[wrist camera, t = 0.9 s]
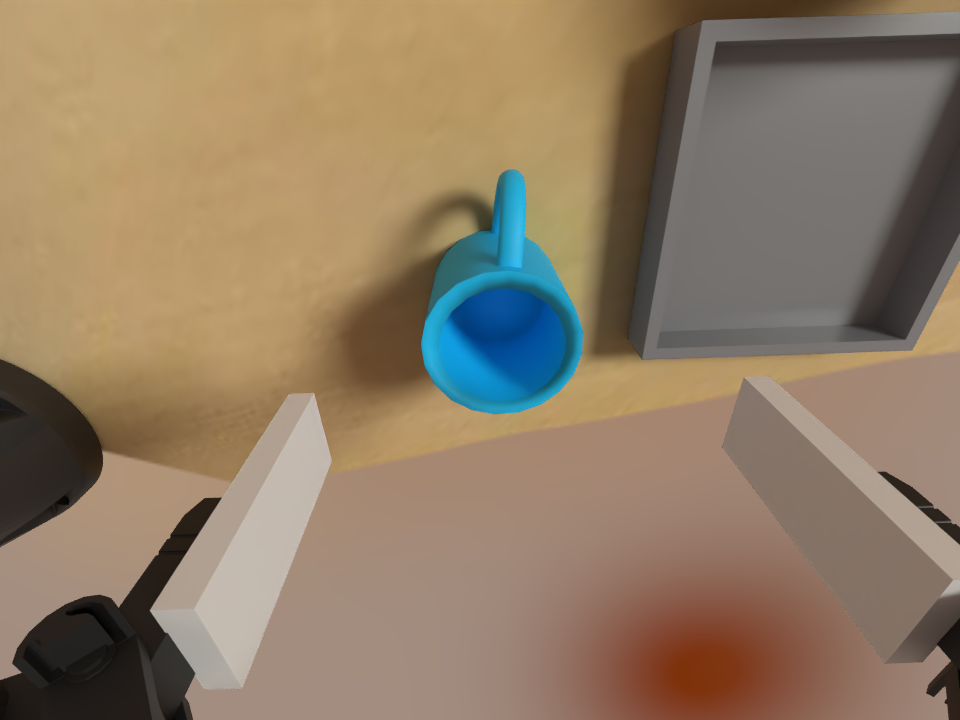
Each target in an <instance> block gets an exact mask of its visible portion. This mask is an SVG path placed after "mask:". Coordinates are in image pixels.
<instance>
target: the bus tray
mask: <svg viewBox="0 0 960 720" xmlns="http://www.w3.org/2000/svg"><path fill="white" fill-rule="evenodd" d="M959 260H960V12H936V13H906V14H876V15H846V16H816V17H787V18H757V19H727V20H702V21H700V22H697V23H694V24H692V25H689V26H687V27H684V28H682V29H679V30H677V31H675V37H674V43H673V50H672V56H671V63H670V69H669V75H668V82H667V88H666V95H665V101H664V108H663V114H662V121H661V127H660V134H659V140H658V146H657V153H656V159H655V166H654V172H653V179H652V185H651V192H650V198H649V205H648V211H647V218H646V224H645V230H644V237H643V243H642V250H641V256H640V263H639V269H638V276H637V282H636V289H635V295H634V301H633V308H632V314H631V321H630V327H629V334H628V340H629V342H630V343H631V344H632V346H633V347H634V349H635V350H636V352H637V353H638V355H639V356H640V357H641V359H642V360H651V359H680V358H709V357H737V356H766V355H795V354H824V353H852V352H881V351H910V350H913V348H914V346H915V344H916V342H917V340H918V339H919V337H920V335H921V333H922V331H923V329H924V327H925V325H926V323H927V321H928V319H929V318H930V316H931V314H932V312H933V310H934V308H935V306H936V304H937V302H938V300H939V298H940V297H941V295H942V293H943V291H944V289H945V287H946V285H947V283H948V281H949V279H950V277H951V276H952V274H953V272H954V270H955V268H956V266H957V264H958V262H959Z"/></svg>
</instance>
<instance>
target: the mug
mask: <svg viewBox="0 0 960 720" xmlns="http://www.w3.org/2000/svg"><path fill="white" fill-rule="evenodd" d="M525 218H526V189H525V182H524V177H523V175H522V174H521V173H520V172H519V171H517V170H507V171H505V172H503V173H502V174H501V175H500V177H499V179H498V183H497V188H496V195H495V202H494V210H493V219H492V229H491V230H485V231H479V232H477V233H474V234H472V235H470V236H467V237H465V238H463V239H461V240H460V241H459V242H457V243H456V244H455V245H454V246H453V247H452V248H451V249H450V250H448V251H447V252H446V254H445V256H444V257H443V259H442V261H441V263H440V264H439V266H438V268H437V270H436V275H435V279H434V284H433V289H432V293H431V298H430V302H429V307H428V312H427V316H426V321H425V326H424V331H423V336H422V342H421V347H422V353H423V359H424V365H425V368H426V369H427V371H428V373H429V375H430V377H431V378H432V380H433V382H434V384H435V385H436V386H437V387H438V388H439V389H440V390H441V391H442V392H443V393H444V394H445V395H447V396H448V397H449V398H450V399H451V400H452V401H454V402H456V403H458V404H461V405H463V406H465V407H467V408H469V409H471V410H474V411H480V412H486V413H491V414H504V413H517V412H521V411H524V410H526V409H529V408H532V407H535V406H538V405H541V404H542V403H543V402H545V401H546V400H548V399H549V398H551V397H552V396H554V395H555V394H557V393H558V392H559V391H560V390H561V389H562V388H563V387H564V385H565V384H566V383H567V382H568V381H569V379H570V378H571V377H572V376H573V375H574V372H575V370H576V367H577V365H578V362H579V360H580V357H581V355H582V340H583V330H582V327H581V324H580V321H579V318H578V315H577V312H576V309H575V307H574V305H573V303H572V301H571V300H570V298H569V296H568V294H567V292H566V290H565V288H564V286H563V285H562V283H561V281H560V279H559V277H558V275H557V273H556V271H555V269H554V268H553V266H552V264H551V262H550V260H549V259H548V257H547V256H546V255H545V254H544V252H543V251H542V250H541V249H540V247H539V246H538V245H537V244H536V243H534V242H533V241H531V240H529V239H528V238H526V237H525Z"/></svg>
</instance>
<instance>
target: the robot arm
mask: <svg viewBox="0 0 960 720" xmlns="http://www.w3.org/2000/svg"><path fill="white" fill-rule="evenodd" d="M722 448H723V449H724V450H725V452H726V453H727V454H728V456H729V457H730V458H731V460H732V461H733V462H734V464H735V465H736V466H737V467H738V469H739V470H740V471H741V473H742V474H743V475H744V477H745V478H746V479H747V481H748V482H749V483H750V485H751V486H752V487H753V489H754V490H755V491H756V493H757V494H758V495H759V497H760V498H761V499H762V501H763V502H764V503H765V505H766V506H767V507H768V508H769V510H770V511H771V513H772V514H773V515H774V517H775V518H776V519H777V521H778V522H779V523H780V524H781V526H782V527H783V529H784V530H785V531H786V533H787V534H788V535H789V536H790V538H791V539H792V541H793V542H794V543H795V545H796V546H797V547H798V549H799V550H800V551H801V552H802V554H803V555H804V557H805V558H806V559H807V560H808V562H809V563H810V564H811V566H812V567H813V568H814V570H815V571H816V572H817V574H818V575H819V576H820V578H821V579H822V580H823V582H824V583H825V584H826V586H827V587H828V588H829V590H830V591H831V592H832V594H833V595H834V596H835V598H836V599H837V600H838V602H839V603H840V604H841V605H842V607H843V608H844V610H845V611H846V612H847V614H848V615H849V616H850V618H851V619H852V620H853V622H854V623H855V624H856V626H857V627H858V628H859V630H860V631H861V632H862V634H863V635H864V636H865V638H866V639H867V640H868V642H869V643H870V644H871V646H872V647H873V648H874V650H875V651H876V652H877V654H878V655H879V656H880V658H881V659H882V660H883V661H884V663H885V664H886V663H909V662H910V663H912V662H923V661H924V660H925V659H926V657H927V656H928V655H929V654H930V653H931V652H932V651H933V650H934V648H935V647H936V646H937V645H938V646H939V647H940V648H941V649H942V651H943V652H944V653H945V654H946V655H947V656H948V658H949V659H950V660H951V662H950V663H949V664H948V665H947V666H946V667H945V668H944V669H943V670H942V671H941V672H940V673H939V674H938V675H937V676H936V677H935V679H933V681H932V682H931V683H930V684H929V685H928V688H927V692H926V693H927V694H929V695H931V696H933V697H934V696H935V695H936V694H937V693H938V692H939V691H940V690H941V689H942V688H943V687H946V693H947V699H946V700H945V703H946V704H947V706H948V717H949V720H960V527H959V526H957V525H956V524H952V523H951V520H950V519H949V518H948V517H947V516H946V515H944V514H943V513H942V512H941V511H940V510H939V509H934V507H933V504H931V503H930V502H929V501H928V500H927V499H926V498H924V497H923V496H922V495H921V494H919V492H917V491H916V490H915V489H914V488H913V487H911V486H909V485H908V484H906V483H904V482H902V481H901V480H899V479H897V478H895V477H894V476H892V475H890V474H888V473H887V472H876V471H875V470H874V469H873V468H872V467H871V466H870V465H869V464H867V463H866V462H865V461H864V460H863V459H862V458H861V457H860V456H859V455H857V454H856V453H855V452H854V451H853V450H852V449H851V448H849V447H848V446H847V445H846V444H845V443H844V442H843V441H841V440H840V439H839V438H838V437H837V436H836V435H835V434H834V433H833V432H831V431H830V430H829V429H828V428H827V427H826V426H824V425H823V424H822V423H821V422H820V421H819V420H818V419H816V418H815V417H814V416H813V415H812V414H811V413H810V412H809V411H808V410H806V409H805V408H804V407H803V406H802V405H801V404H799V403H798V402H797V401H796V400H795V399H794V398H793V397H792V396H791V395H790V394H788V393H787V392H786V391H785V390H784V389H783V388H782V387H780V386H779V385H778V384H777V383H776V382H775V381H774V380H773V379H771V378H770V377H769V376H763V377H744V379H743V382H742V385H741V388H740V391H739V394H738V397H737V401H736V404H735V407H734V410H733V413H732V417H731V420H730V423H729V426H728V429H727V432H726V435H725V439H724V442H723V445H722ZM331 462H332V460H331V456H330V452H329V448H328V445H327V441H326V437H325V433H324V429H323V426H322V422H321V418H320V414H319V410H318V407H317V403H316V399H315V395H314V393H301V394H288V396H287V397H286V399H285V401H284V402H283V404H282V405H281V407H280V408H279V410H278V411H277V413H276V415H275V416H274V418H273V419H272V421H271V422H270V424H269V425H268V427H267V429H266V430H265V432H264V433H263V435H262V436H261V438H260V439H259V441H258V443H257V444H256V446H255V447H254V449H253V450H252V452H251V454H250V455H249V457H248V458H247V460H246V461H245V463H244V464H243V466H242V468H241V469H240V471H239V472H238V474H237V475H236V477H235V478H234V480H233V482H232V483H231V485H230V486H229V488H228V489H227V491H226V492H225V494H224V496H223V497H222V498H204V499H203V500H202V501H201V502H200V503H198V504H197V505H196V506H195V507H194V508H192V509H191V510H190V511H189V512H188V513H187V514H185V515H184V517H183V518H182V519H181V521H180V522H179V524H178V525H177V526H176V528H175V529H174V531H173V532H172V533H171V537H170V539H167V540H166V542H165V543H164V545H163V546H162V548H161V549H160V550H159V554H158V555H157V556H155V558H154V559H153V560H152V562H151V563H150V564H149V566H148V567H147V569H146V570H145V572H144V573H143V575H142V576H141V577H140V579H139V580H138V581H137V583H136V584H135V586H134V587H133V588H132V590H131V591H130V593H129V594H128V596H127V597H126V598H125V600H124V601H123V603H122V604H121V605H120V607H119V608H118V607H117V605H116V604H115V603H114V602H113V600H112V599H111V598H109V597H106V596H102V595H94V596H87V597H83V598H80V599H78V600H75V601H73V602H70V603H68V604H65V605H64V606H62V607H61V608H59V609H57V610H56V611H54V612H53V613H51V614H50V615H48V616H46V617H45V618H44V619H43V620H42V621H41V622H40V623H39V624H38V625H36V626H35V627H34V628H33V629H32V630H31V631H30V632H29V633H28V634H27V636H26V637H25V638H24V640H23V641H22V643H21V644H20V645H19V647H18V648H17V651H16V654H15V657H14V660H13V665H14V666H16V667H17V668H18V669H19V670H20V671H21V672H22V673H20V674H17V675H14V676H11V677H8V678H5V679H3V680H0V720H193V718H192V713H191V710H190V706H189V702H188V701H187V699H186V698H185V694H186V692H187V690H188V688H189V686H190V684H191V682H192V680H193V678H194V676H196V678H197V679H198V681H199V682H200V684H201V685H202V686H203V688H204V689H205V690H207V689H233V688H243V685H244V682H245V680H246V677H247V675H248V672H249V670H250V667H251V665H252V662H253V660H254V657H255V655H256V652H257V650H258V647H259V644H260V642H261V639H262V637H263V634H264V632H265V629H266V627H267V624H268V621H269V619H270V617H271V614H272V612H273V609H274V606H275V604H276V601H277V599H278V596H279V594H280V591H281V589H282V586H283V584H284V581H285V579H286V576H287V573H288V571H289V568H290V566H291V563H292V561H293V558H294V556H295V553H296V551H297V548H298V546H299V543H300V541H301V538H302V536H303V533H304V530H305V528H306V526H307V523H308V520H309V518H310V515H311V513H312V510H313V508H314V505H315V503H316V500H317V497H318V495H319V493H320V490H321V487H322V485H323V482H324V480H325V477H326V475H327V472H328V470H329V467H330V465H331ZM102 467H103V455H102V449H101V446H100V443H99V440H98V438H97V436H96V434H95V432H94V430H93V429H92V427H91V425H90V424H89V423H88V421H87V420H86V418H85V417H84V416H83V415H82V414H81V412H80V411H79V410H78V409H77V408H76V407H75V406H74V405H73V404H72V403H71V402H70V401H69V400H67V399H66V398H65V397H64V396H63V395H62V394H60V393H59V392H58V391H57V390H55V389H54V388H52V387H51V386H50V385H48V384H47V383H45V382H44V381H42V380H41V379H39V378H37V377H36V376H34V375H32V374H30V373H28V372H27V371H25V370H23V369H21V368H19V367H16V366H14V365H12V364H10V363H7V362H5V361H2V360H0V547H1V546H3V545H5V544H7V543H8V542H10V541H12V540H14V539H16V538H18V537H19V536H21V535H23V534H25V533H27V532H28V531H30V530H32V529H34V528H36V527H37V526H39V525H41V524H43V523H45V522H47V521H48V520H50V519H52V518H54V517H56V516H57V515H59V514H61V513H63V512H64V511H66V510H67V509H69V508H70V507H71V506H72V505H74V504H75V503H76V502H77V501H78V500H79V499H80V498H81V497H82V496H83V495H84V494H85V493H86V492H87V491H88V490H89V489H90V488H91V487H92V486H93V485H94V484H95V483H96V481H97V480H98V478H99V476H100V474H101V471H102Z"/></svg>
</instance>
